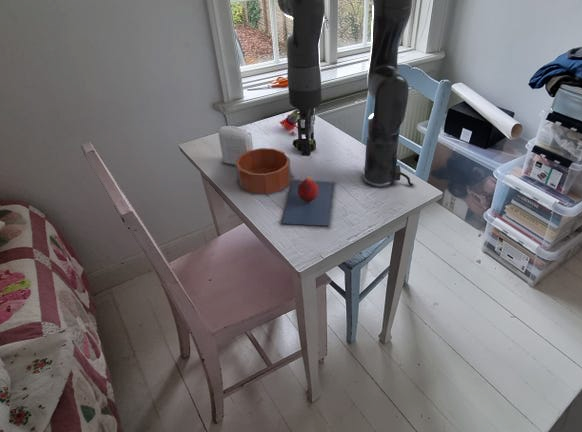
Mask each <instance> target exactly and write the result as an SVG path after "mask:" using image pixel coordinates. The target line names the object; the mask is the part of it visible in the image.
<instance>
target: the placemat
mask: <svg viewBox="0 0 582 432" xmlns="http://www.w3.org/2000/svg"><path fill="white" fill-rule="evenodd" d="M302 181H303V180H292V184H291V187H290V190H289V195H288V197H287V202H286V207H285V210H284V214H283V218H282V222H281V224H282V225H286V226H287V225H289V226H307V227H309V226H310V227H311V226H312V227H329V221H330V220H329V219H330V211H331V204H332V202H331V201H332V193H333V186H334V185H333V182H326V181H325V182H323V181H314V182H315V183H317V185H318V189H319V193H318V196H317V197H316V198H315V199H314V200H312V201H310V202H307V201H304V200H302V199H301V198H300V197H299V195H298V186H299V184H300V183H301V182H302Z"/></svg>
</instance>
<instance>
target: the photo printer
mask: <svg viewBox="0 0 582 432" xmlns="http://www.w3.org/2000/svg"><path fill="white" fill-rule="evenodd" d="M218 140H219V145H220V151H221V157H222V162H223V163H226V164H228V165H229V164H230V165H233V166H236V162H237V160H238V158H239V156H240V155H242V154H244V153H246V152H247V151H250V150H254V145H253V144H254V143H253V135H252V133H251V132H250V131H248V130H246V129H245V128H242V127H239V126H233V125H224V126H221V127H220V128H219V130H218Z"/></svg>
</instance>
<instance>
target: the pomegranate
mask: <svg viewBox="0 0 582 432" xmlns="http://www.w3.org/2000/svg"><path fill="white" fill-rule="evenodd" d="M301 181H302V182H301V183H300V184H299V186H298V195H299V197H300V198H301V199H302V200H304V201H307V202H310V201H312V200H314V199H315V198H316V197H317V196H318V193H319V189H318V185H317V183H315V182H316V181H314V180H313V179H311V177H310V176H306V178H305V179H304V180H301Z"/></svg>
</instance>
